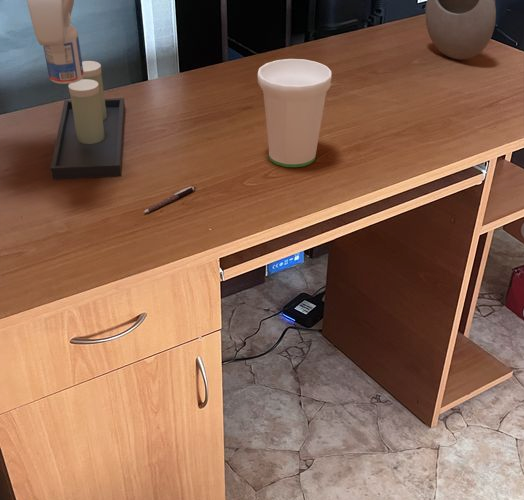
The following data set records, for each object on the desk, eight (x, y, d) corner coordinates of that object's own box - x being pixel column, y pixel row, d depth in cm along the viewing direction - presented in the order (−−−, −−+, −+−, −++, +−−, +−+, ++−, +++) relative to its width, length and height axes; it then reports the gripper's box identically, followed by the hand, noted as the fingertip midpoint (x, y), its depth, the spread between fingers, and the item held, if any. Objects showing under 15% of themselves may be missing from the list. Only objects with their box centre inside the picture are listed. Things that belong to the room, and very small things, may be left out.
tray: (52, 179, 134) (50, 168, 132) (66, 110, 155) (64, 100, 154) (121, 176, 135) (119, 165, 133) (125, 108, 156) (124, 97, 155)
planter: (411, 50, 182) (422, -38, 170) (431, 43, 185) (444, -43, 173) (474, 73, 171) (491, -19, 159) (495, 65, 175) (513, -25, 162)
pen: (193, 189, 131) (193, 183, 131) (197, 190, 131) (196, 185, 130) (141, 213, 125) (141, 208, 124) (144, 215, 125) (144, 210, 124)
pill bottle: (63, 69, 126) (53, 5, 119) (91, 75, 124) (82, 10, 118) (41, 81, 122) (30, 15, 116) (69, 87, 120) (59, 21, 114)
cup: (254, 142, 145) (254, 59, 135) (321, 140, 146) (325, 57, 136) (260, 174, 135) (261, 87, 125) (332, 171, 136) (338, 85, 126)
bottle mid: (75, 144, 142) (67, 91, 136) (77, 132, 146) (69, 79, 140) (104, 143, 143) (97, 89, 136) (106, 131, 147) (99, 78, 140)
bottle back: (79, 123, 149) (71, 71, 143) (81, 112, 153) (73, 61, 147) (106, 122, 150) (100, 70, 143) (107, 111, 154) (101, 60, 147)
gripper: (33, -61, 119) (48, 32, 128) (15, -23, 104) (34, 80, 113) (75, -62, 120) (87, 31, 129) (63, -24, 104) (78, 79, 113)
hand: (62, 55), depth 121 cm, fingers closed on pill bottle, 5 cm apart
